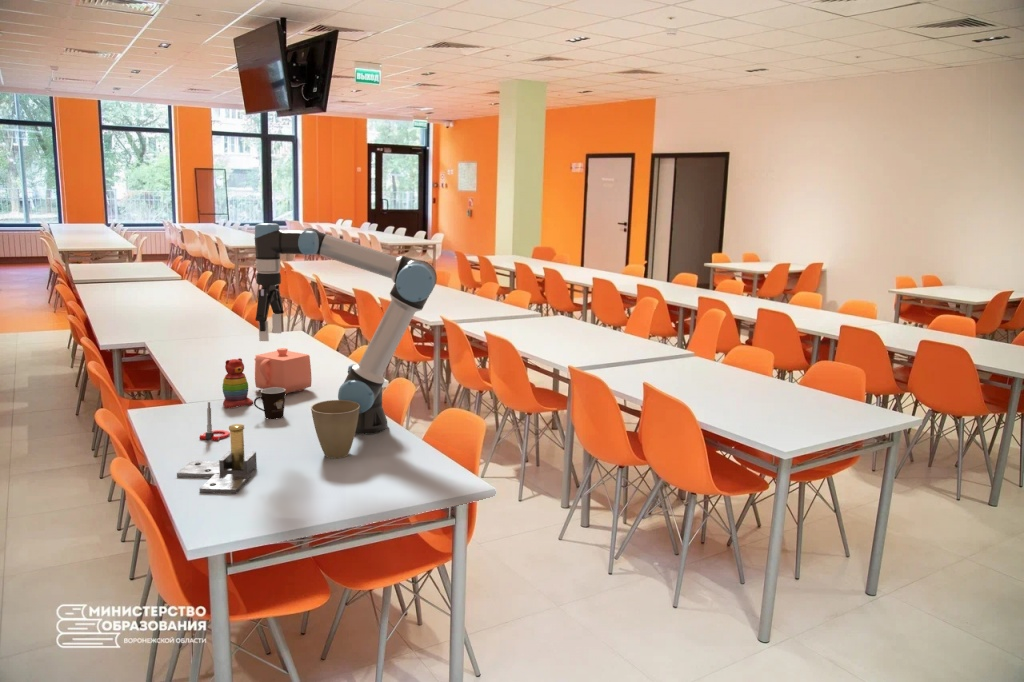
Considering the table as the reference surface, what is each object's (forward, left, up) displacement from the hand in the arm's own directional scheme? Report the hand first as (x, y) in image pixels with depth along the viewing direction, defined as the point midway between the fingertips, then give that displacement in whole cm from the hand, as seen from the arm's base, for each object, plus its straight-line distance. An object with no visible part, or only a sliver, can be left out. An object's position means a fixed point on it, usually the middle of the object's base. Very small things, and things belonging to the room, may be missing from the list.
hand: (270, 337), depth 247 cm
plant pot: (-24, +14, -35) cm, 45 cm away
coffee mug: (+9, -24, -35) cm, 43 cm away
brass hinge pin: (+1, +31, -35) cm, 47 cm away
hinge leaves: (+6, +36, -35) cm, 51 cm away
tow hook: (+20, -1, -35) cm, 40 cm away
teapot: (+18, -63, -35) cm, 74 cm away
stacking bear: (+27, -40, -35) cm, 60 cm away
